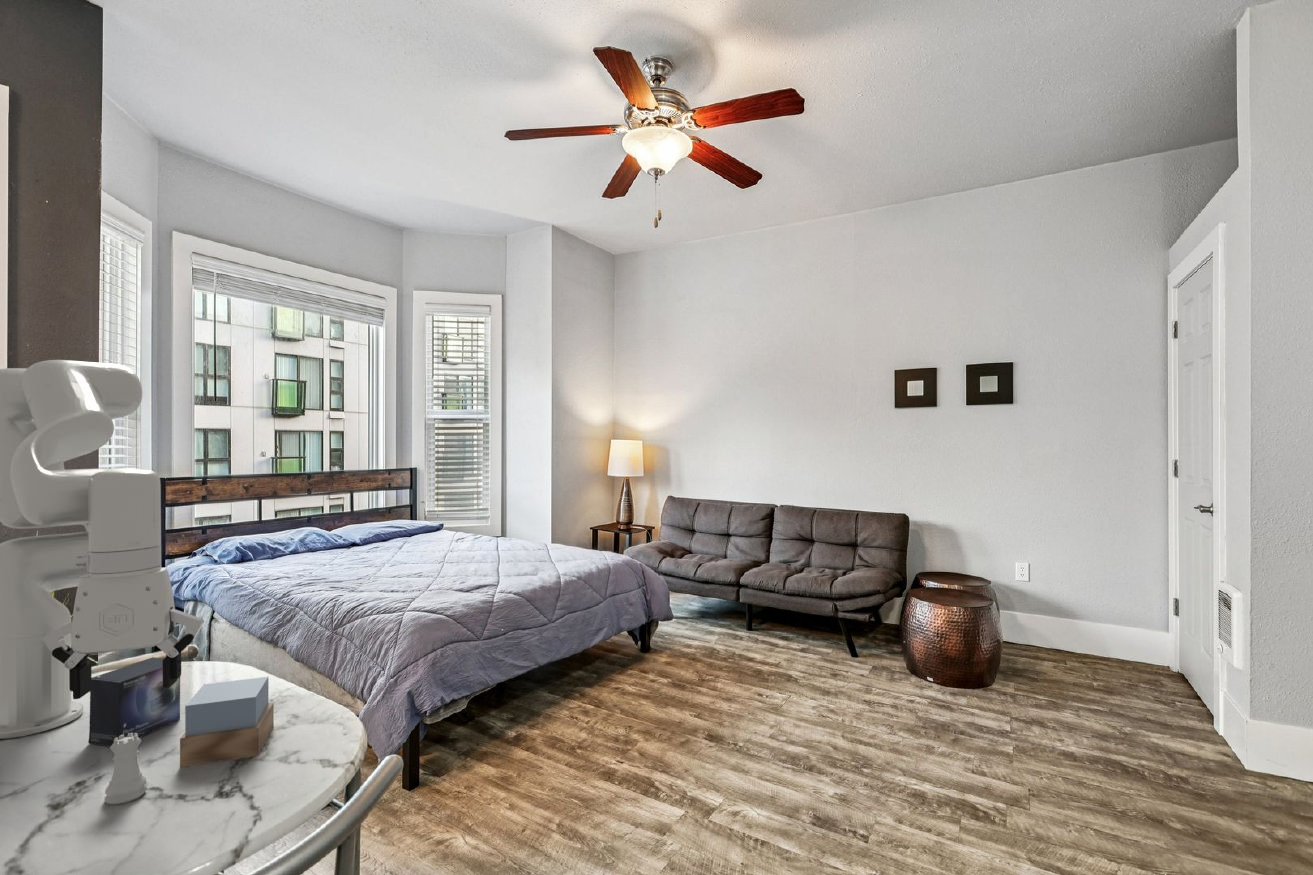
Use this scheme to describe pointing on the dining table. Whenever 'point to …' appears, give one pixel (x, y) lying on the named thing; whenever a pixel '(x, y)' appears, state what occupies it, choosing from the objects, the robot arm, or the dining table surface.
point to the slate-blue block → (226, 706)
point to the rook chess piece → (125, 772)
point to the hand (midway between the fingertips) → (127, 689)
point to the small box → (131, 702)
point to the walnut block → (227, 742)
